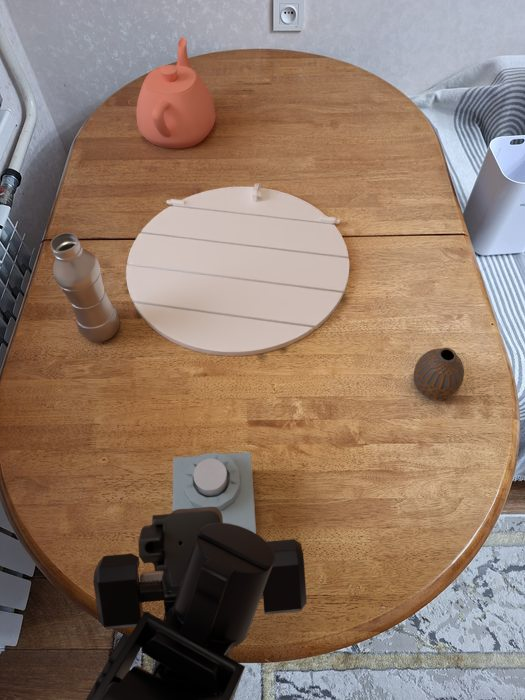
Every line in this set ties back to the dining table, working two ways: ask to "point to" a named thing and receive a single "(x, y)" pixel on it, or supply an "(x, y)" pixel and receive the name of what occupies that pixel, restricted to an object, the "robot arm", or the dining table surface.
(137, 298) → the lazy susan
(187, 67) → the teapot
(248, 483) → the cistern
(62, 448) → the dining table surface
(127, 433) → the dining table surface
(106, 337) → the plastic bottle
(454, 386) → the vase
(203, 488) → the flush button
